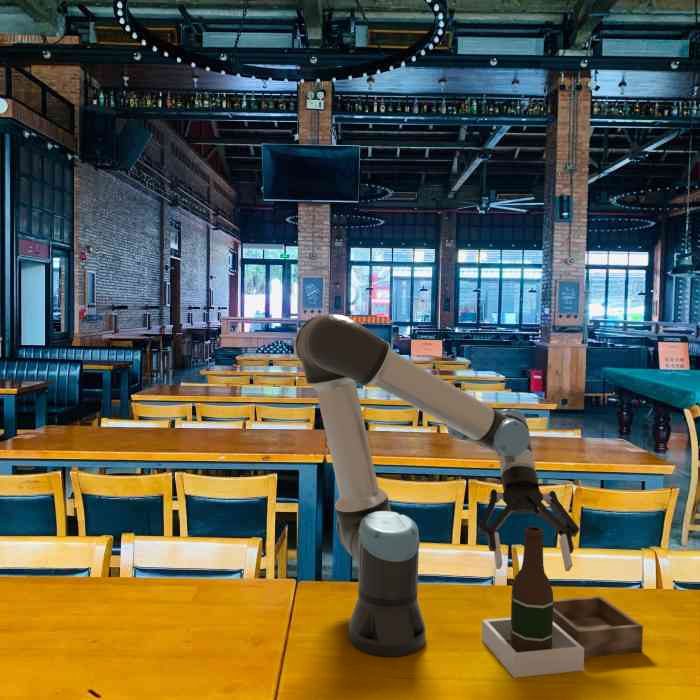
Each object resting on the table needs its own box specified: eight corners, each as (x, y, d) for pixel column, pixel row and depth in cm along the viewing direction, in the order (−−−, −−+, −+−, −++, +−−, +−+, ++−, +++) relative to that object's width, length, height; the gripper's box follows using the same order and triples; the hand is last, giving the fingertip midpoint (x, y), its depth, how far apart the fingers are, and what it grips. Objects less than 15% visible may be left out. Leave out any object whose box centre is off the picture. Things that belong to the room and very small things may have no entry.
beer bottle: (515, 640, 124) (519, 519, 123) (556, 651, 120) (560, 526, 119) (503, 657, 117) (507, 530, 116) (546, 670, 113) (550, 538, 112)
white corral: (513, 677, 110) (514, 655, 110) (481, 640, 123) (482, 620, 123) (583, 670, 113) (584, 648, 113) (544, 634, 126) (545, 614, 126)
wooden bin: (578, 658, 117) (578, 631, 117) (541, 624, 130) (541, 600, 130) (642, 651, 120) (642, 626, 120) (599, 619, 133) (600, 596, 133)
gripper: (571, 483, 140) (592, 576, 126) (459, 480, 141) (468, 573, 127) (580, 465, 135) (603, 561, 120) (463, 462, 135) (473, 557, 121)
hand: (534, 567), depth 124 cm, fingers open, 13 cm apart
